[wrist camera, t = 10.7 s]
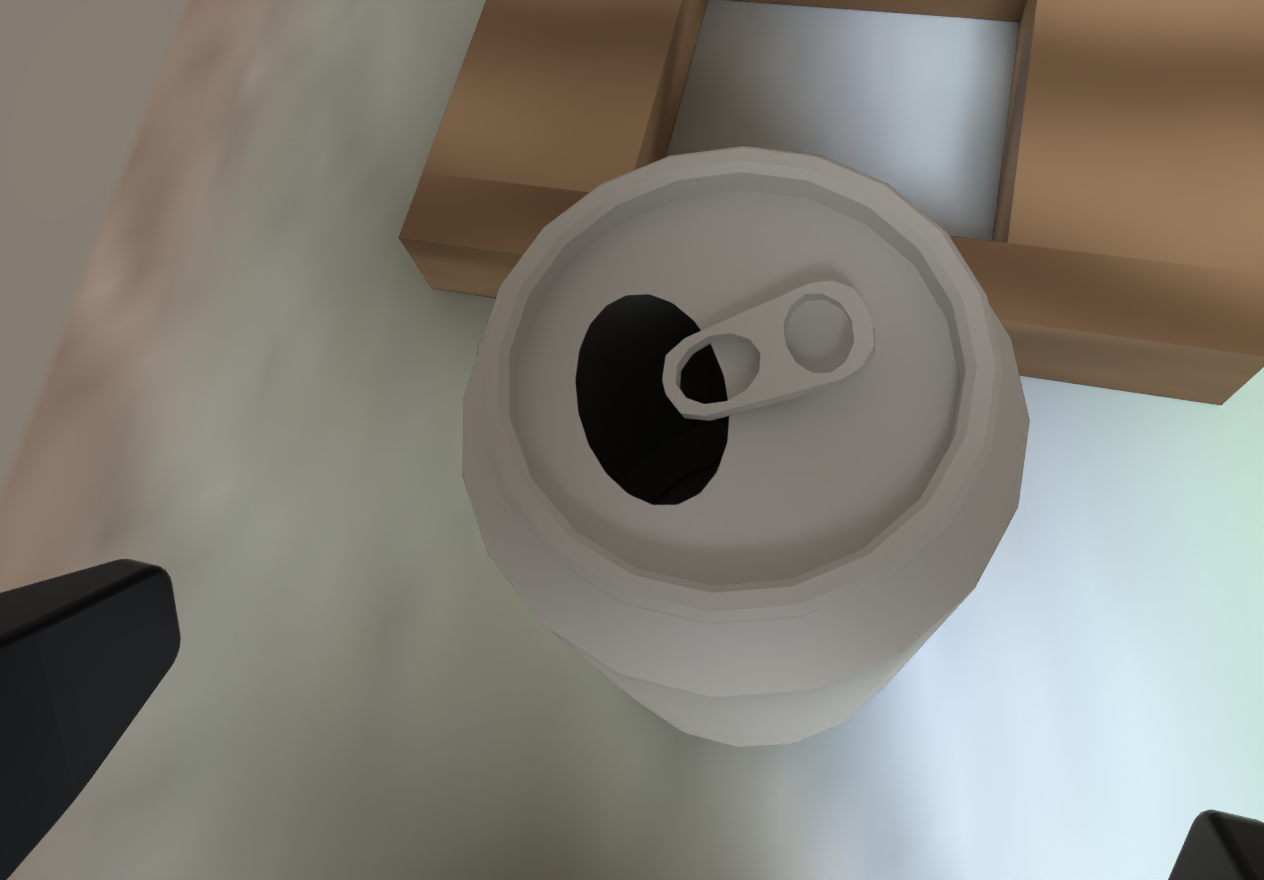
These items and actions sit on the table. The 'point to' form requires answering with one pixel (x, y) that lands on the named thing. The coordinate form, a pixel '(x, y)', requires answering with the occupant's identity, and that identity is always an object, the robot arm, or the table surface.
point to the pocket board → (1005, 267)
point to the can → (744, 437)
